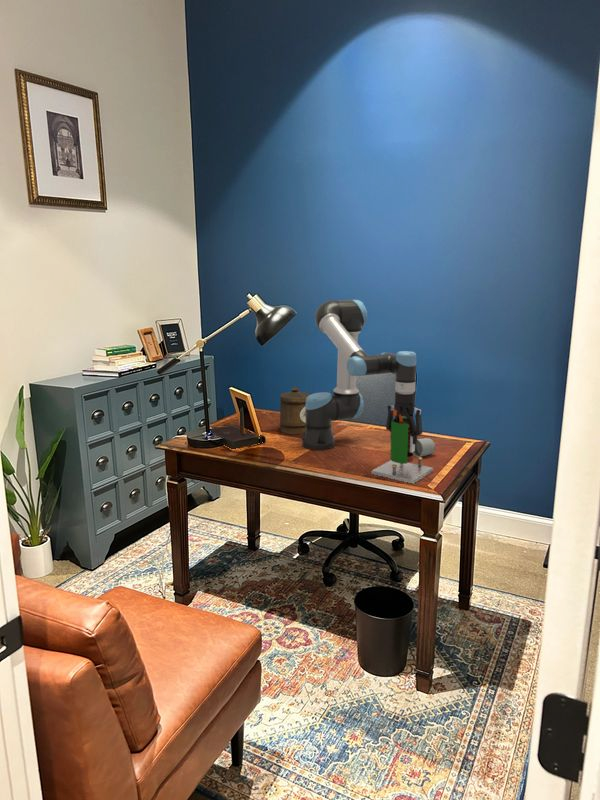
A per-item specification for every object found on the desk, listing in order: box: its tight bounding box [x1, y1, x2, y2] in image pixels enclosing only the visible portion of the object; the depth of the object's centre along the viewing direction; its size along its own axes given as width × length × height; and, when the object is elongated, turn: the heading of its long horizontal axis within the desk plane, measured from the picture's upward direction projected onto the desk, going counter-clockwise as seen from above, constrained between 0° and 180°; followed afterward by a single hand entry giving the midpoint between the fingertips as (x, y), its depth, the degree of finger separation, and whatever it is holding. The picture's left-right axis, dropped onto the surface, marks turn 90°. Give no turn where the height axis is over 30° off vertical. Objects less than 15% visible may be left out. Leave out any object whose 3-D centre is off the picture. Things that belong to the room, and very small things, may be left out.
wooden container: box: [279, 386, 311, 435], centre depth 295 cm, size 15×15×22 cm
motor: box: [389, 409, 415, 464], centre depth 234 cm, size 10×9×20 cm
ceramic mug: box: [412, 437, 436, 458], centre depth 259 cm, size 11×8×8 cm
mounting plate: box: [371, 456, 434, 485], centre depth 237 cm, size 18×17×5 cm
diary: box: [210, 424, 267, 449], centre depth 280 cm, size 19×25×5 cm
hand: (403, 449), depth 235 cm, fingers closed on motor, 7 cm apart
